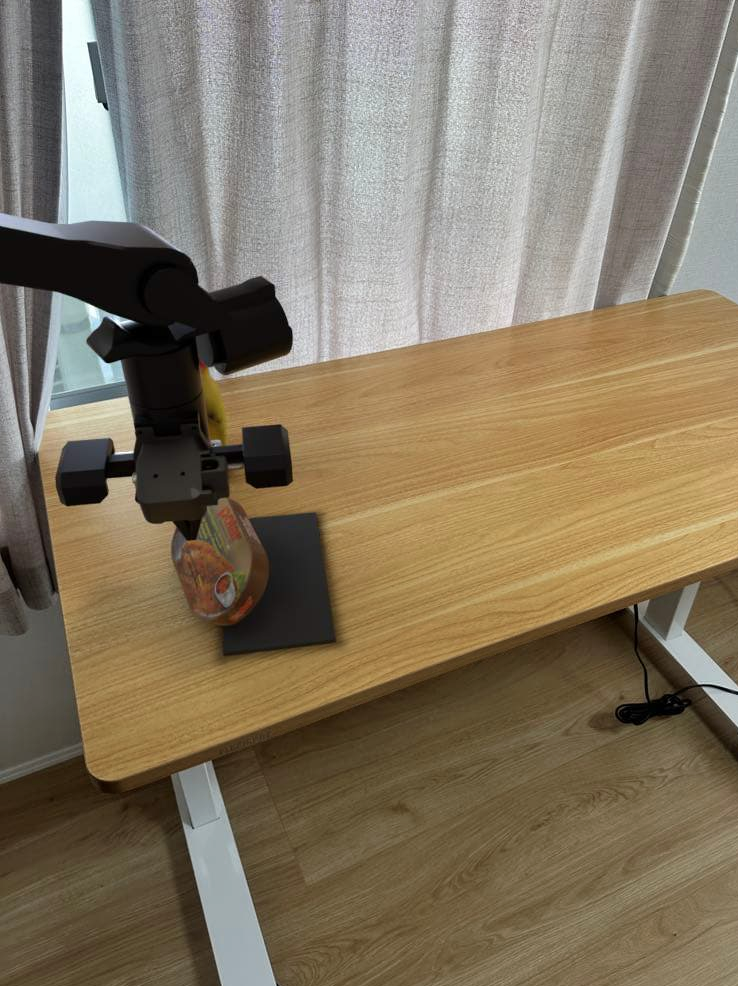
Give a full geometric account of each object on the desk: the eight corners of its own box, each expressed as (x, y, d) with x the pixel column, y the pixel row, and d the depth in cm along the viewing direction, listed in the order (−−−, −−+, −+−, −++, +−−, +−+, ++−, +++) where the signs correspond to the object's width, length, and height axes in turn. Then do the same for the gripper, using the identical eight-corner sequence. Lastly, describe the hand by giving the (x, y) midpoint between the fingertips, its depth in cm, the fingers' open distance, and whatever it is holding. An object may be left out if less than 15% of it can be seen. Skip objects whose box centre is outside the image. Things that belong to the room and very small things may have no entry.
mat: (223, 655, 71) (222, 652, 71) (221, 523, 85) (221, 520, 85) (335, 642, 73) (335, 639, 73) (316, 514, 87) (315, 511, 87)
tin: (162, 534, 81) (212, 472, 79) (188, 544, 83) (237, 483, 81) (198, 640, 70) (257, 570, 69) (227, 648, 72) (284, 581, 71)
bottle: (247, 475, 92) (230, 315, 80) (196, 495, 89) (170, 331, 77) (201, 426, 99) (178, 273, 87) (152, 443, 96) (121, 287, 84)
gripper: (21, 461, 56) (71, 615, 65) (292, 438, 59) (303, 589, 68) (46, 378, 64) (87, 525, 74) (282, 362, 67) (292, 506, 77)
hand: (191, 537), depth 73 cm, fingers closed
